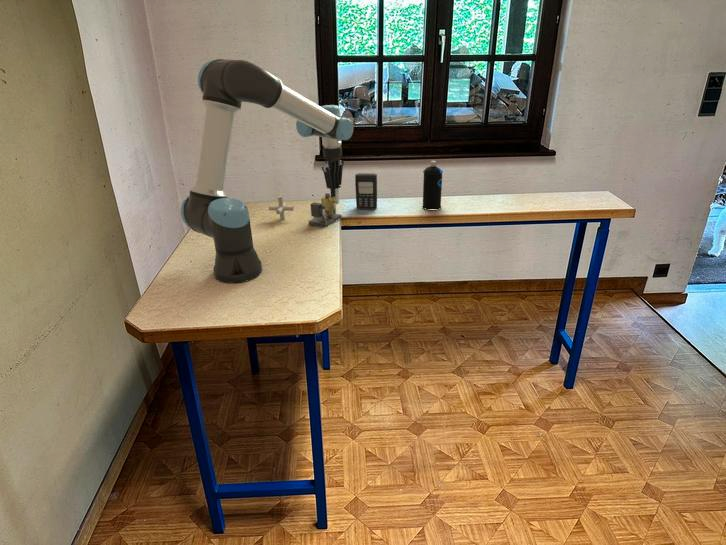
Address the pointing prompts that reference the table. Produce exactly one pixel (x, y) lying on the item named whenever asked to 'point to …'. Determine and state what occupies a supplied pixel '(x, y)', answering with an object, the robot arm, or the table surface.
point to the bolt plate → (337, 216)
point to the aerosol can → (432, 187)
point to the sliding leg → (329, 203)
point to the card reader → (366, 190)
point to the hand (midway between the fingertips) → (335, 203)
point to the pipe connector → (281, 208)
